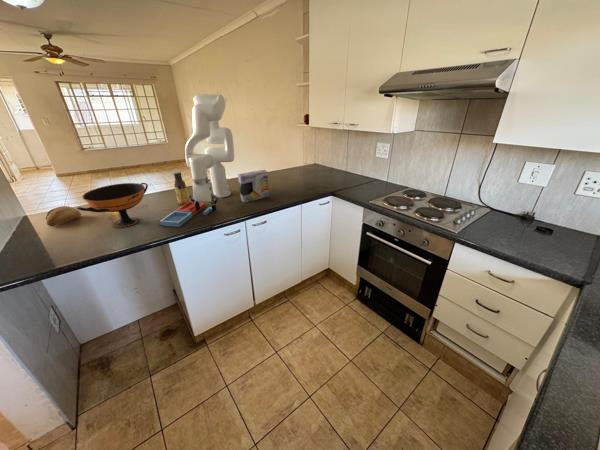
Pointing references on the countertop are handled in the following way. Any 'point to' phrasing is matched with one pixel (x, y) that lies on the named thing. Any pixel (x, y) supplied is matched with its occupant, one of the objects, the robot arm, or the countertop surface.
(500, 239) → the countertop surface
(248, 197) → the cake pan box
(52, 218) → the bread roll
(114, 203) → the cup
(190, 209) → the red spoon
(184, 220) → the blue tray
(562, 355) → the countertop surface
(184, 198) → the sauce bottle
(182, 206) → the red tray
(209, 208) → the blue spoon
